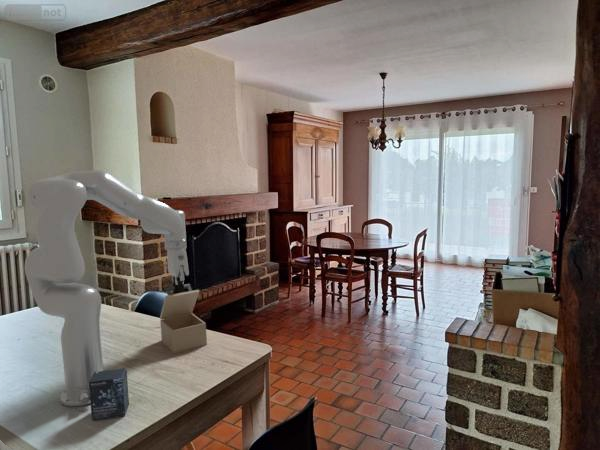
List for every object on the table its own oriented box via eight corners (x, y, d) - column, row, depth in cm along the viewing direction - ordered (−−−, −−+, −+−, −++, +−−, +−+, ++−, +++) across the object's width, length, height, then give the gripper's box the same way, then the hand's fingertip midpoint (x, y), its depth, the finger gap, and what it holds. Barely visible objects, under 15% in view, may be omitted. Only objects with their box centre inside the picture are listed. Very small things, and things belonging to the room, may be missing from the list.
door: (199, 291, 146) (194, 279, 148) (166, 297, 139) (162, 284, 142) (192, 312, 154) (187, 300, 157) (160, 319, 148) (156, 306, 150)
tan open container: (206, 344, 144) (205, 323, 143) (173, 353, 137) (172, 331, 136) (193, 332, 156) (191, 312, 155) (161, 340, 149) (160, 319, 148)
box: (91, 421, 100) (88, 381, 99) (97, 409, 105) (94, 371, 104) (125, 417, 102) (122, 377, 100) (129, 404, 107) (126, 367, 106)
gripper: (193, 246, 140) (196, 297, 142) (179, 240, 153) (181, 287, 155) (171, 248, 136) (175, 301, 138) (158, 243, 149) (162, 291, 151)
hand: (178, 293), depth 147 cm, fingers closed
